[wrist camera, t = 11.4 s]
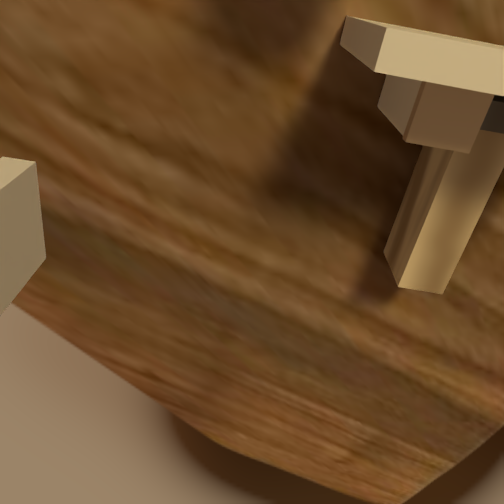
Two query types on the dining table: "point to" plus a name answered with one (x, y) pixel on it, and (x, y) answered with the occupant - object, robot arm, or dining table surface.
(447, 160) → the rail
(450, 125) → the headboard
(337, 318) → the dining table surface
